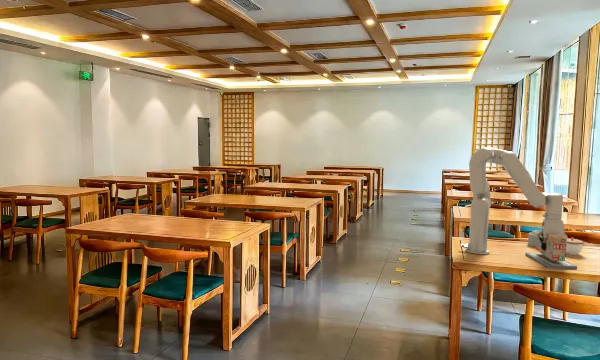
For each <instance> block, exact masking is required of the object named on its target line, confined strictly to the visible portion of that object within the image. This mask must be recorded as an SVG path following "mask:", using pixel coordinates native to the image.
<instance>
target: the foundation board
mask: <svg viewBox="0 0 600 360" xmlns="http://www.w3.org/2000/svg"><path fill="white" fill-rule="evenodd" d="M524 254H525V255H524V256H526V257H528V258H530V259H531V260H533V261H535V262H537V263H539V264H540V265H542V266H544V267H545V268H548V269H565V270H566V269H567V270H578V265H576V264H574V263H572V262H570V261H567V260H566V259H565V261H552V260H550V259H549V258H547V257H546V256H545V255H543V254H542V253H540V252H525V253H524Z"/></svg>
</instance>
